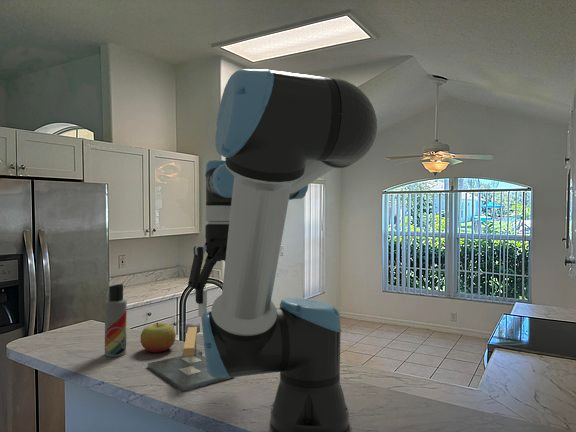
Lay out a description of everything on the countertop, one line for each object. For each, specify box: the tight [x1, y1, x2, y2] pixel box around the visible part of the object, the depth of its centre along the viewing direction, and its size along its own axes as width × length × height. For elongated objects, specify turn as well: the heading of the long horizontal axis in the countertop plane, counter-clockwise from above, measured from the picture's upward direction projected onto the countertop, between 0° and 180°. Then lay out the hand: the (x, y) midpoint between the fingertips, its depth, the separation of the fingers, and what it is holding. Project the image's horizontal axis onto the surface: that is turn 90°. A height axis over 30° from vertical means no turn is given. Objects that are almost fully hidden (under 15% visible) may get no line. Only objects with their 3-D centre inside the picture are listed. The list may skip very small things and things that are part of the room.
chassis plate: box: [147, 353, 231, 393], centre depth 107 cm, size 20×14×1 cm
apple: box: [140, 322, 177, 353], centre depth 124 cm, size 10×10×8 cm
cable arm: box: [183, 322, 201, 356], centre depth 111 cm, size 24×4×2 cm, turn 10°
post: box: [182, 343, 203, 356], centre depth 120 cm, size 4×4×6 cm
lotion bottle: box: [104, 283, 128, 358], centre depth 120 cm, size 6×6×20 cm
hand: (220, 313), depth 104 cm, fingers open, 9 cm apart
